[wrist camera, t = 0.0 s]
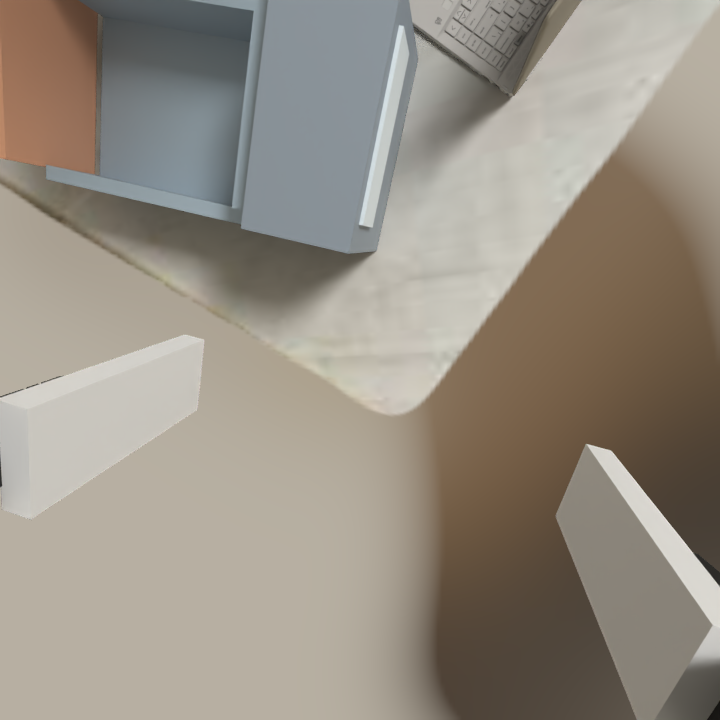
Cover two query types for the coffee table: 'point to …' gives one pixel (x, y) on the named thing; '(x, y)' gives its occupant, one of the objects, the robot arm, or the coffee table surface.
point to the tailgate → (48, 83)
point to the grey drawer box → (256, 112)
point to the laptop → (494, 33)
